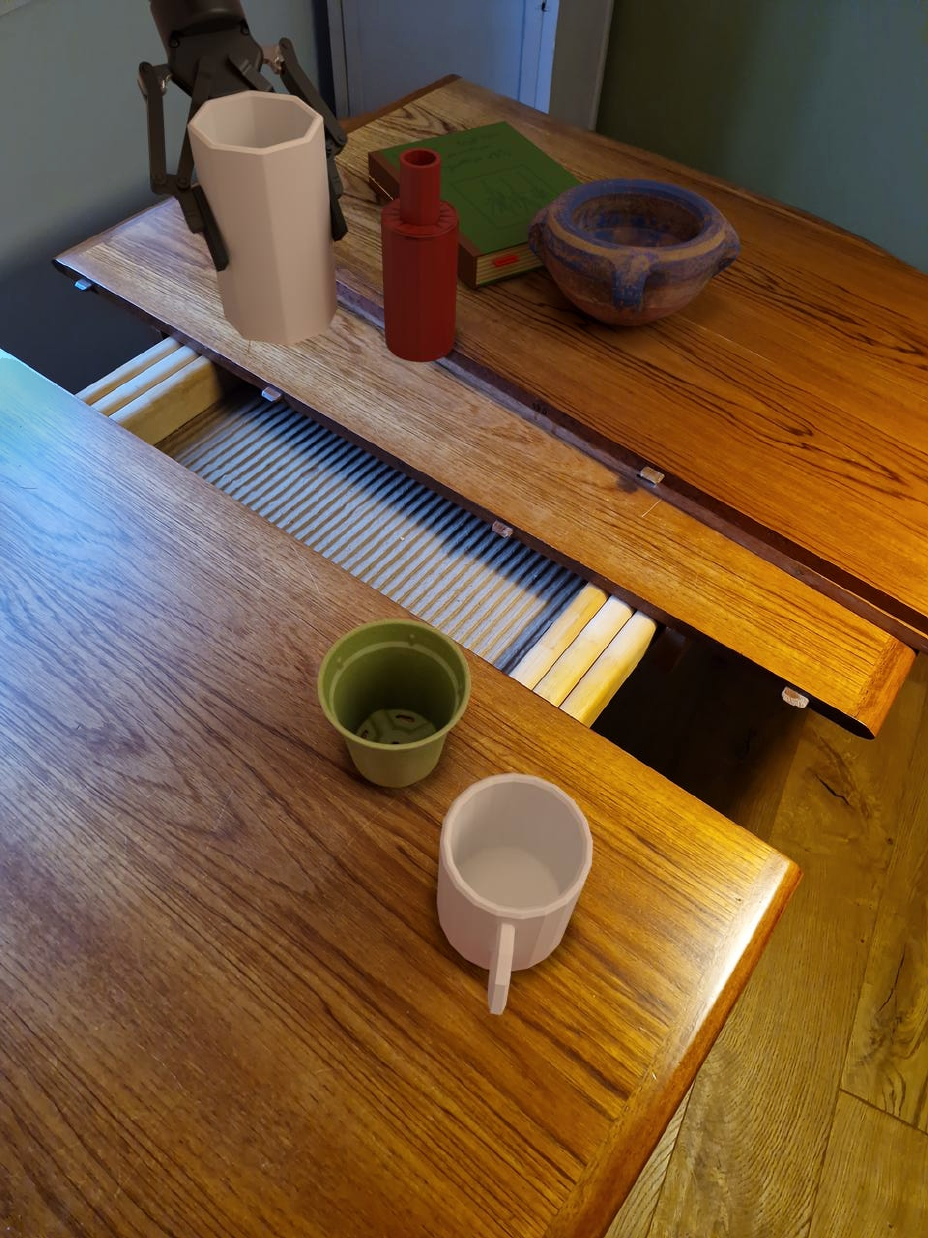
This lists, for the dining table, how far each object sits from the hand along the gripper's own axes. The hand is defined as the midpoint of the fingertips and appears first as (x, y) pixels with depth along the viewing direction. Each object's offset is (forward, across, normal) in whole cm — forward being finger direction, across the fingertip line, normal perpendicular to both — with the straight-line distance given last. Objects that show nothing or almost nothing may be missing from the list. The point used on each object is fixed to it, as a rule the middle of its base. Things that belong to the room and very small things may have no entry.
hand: (283, 251), depth 81 cm
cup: (+4, 0, -8) cm, 9 cm away
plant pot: (+39, +12, +26) cm, 48 cm away
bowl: (+13, -33, 0) cm, 35 cm away
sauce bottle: (+11, -11, -2) cm, 15 cm away
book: (-1, -29, -14) cm, 32 cm away
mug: (+49, +12, +36) cm, 62 cm away
